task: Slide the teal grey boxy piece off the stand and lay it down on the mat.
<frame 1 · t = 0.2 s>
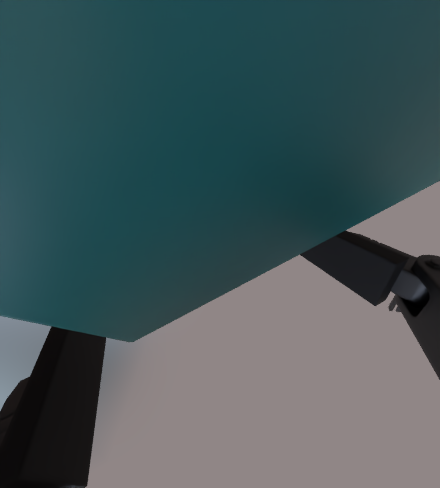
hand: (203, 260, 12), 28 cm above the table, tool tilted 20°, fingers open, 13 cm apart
teal grey boxy piece: (204, 39, 4), point 29 cm above the table, touching stand
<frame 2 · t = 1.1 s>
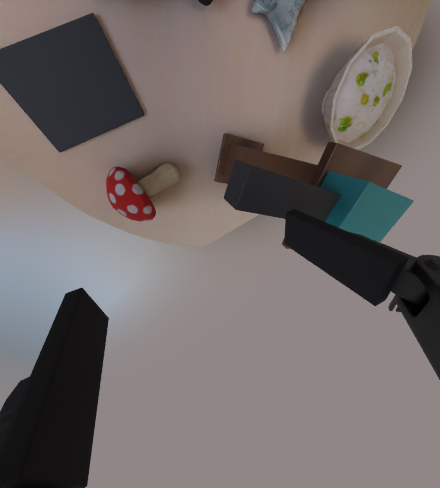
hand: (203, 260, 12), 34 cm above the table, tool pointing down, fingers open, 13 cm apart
stand: (237, 162, 43), on the table
bowl: (333, 102, 43), on the table
teal grey boxy piece: (335, 207, 20), point 29 cm above the table, touching stand
mat: (75, 91, 28), on the table
decorative mushroom: (148, 184, 39), on the table
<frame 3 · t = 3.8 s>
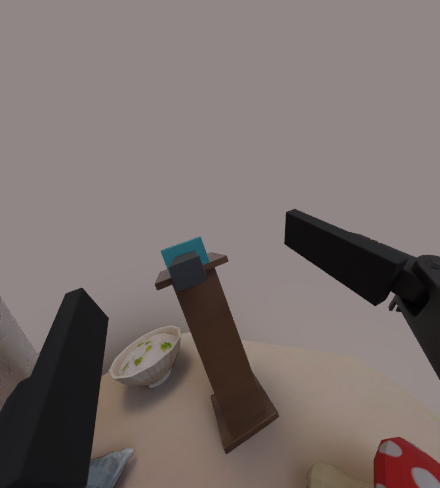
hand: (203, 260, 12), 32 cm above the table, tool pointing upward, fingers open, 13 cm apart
stand: (242, 407, 34), on the table
bowl: (159, 376, 50), on the table
teal grey boxy piece: (189, 265, 30), point 29 cm above the table, touching stand
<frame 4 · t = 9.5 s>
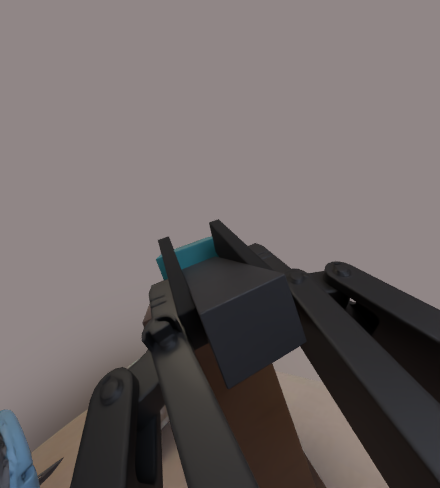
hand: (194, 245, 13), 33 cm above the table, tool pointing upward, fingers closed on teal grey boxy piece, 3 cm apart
teal grey boxy piece: (201, 281, 19), point 29 cm above the table, touching gripper, stand
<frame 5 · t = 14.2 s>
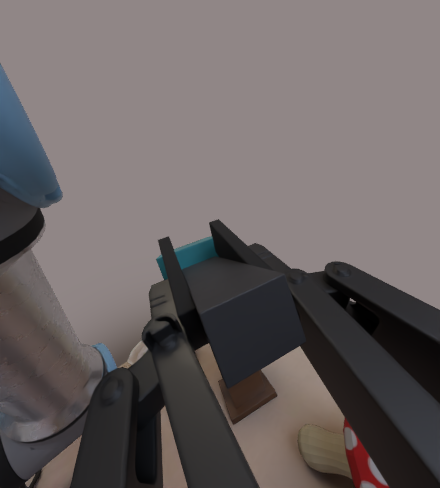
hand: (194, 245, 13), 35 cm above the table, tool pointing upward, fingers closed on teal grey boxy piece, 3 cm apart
stand: (245, 389, 39), on the table
bowl: (171, 366, 56), on the table
teal grey boxy piece: (201, 281, 19), point 31 cm above the table, touching gripper
decorative mushroom: (365, 480, 22), on the table
when the fingers open (22 cm above the table, at t = 19.1 s): teal grey boxy piece drops 17 cm, resting on mat.
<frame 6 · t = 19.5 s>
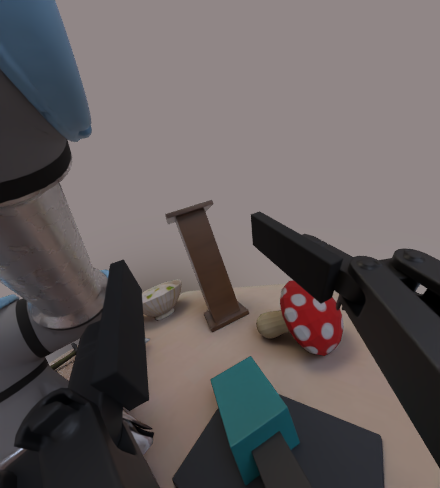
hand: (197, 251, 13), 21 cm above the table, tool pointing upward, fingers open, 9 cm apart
stand: (225, 314, 48), on the table
decorative duck model: (128, 444, 23), on the table, touching fruit
bowl: (165, 314, 64), on the table
knife: (83, 356, 54), on the table
teal grey boxy piece: (254, 421, 20), point 1 cm above the table, touching mat
mat: (271, 463, 17), on the table
decorative mushroom: (301, 338, 30), on the table
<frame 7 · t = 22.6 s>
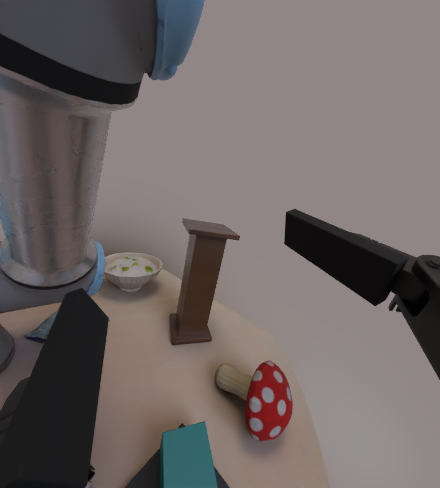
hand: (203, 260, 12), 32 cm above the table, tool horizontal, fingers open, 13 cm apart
stand: (189, 328, 49), on the table
bowl: (130, 287, 62), on the table
teal grey boxy piece: (184, 486, 23), point 1 cm above the table, touching mat
packaged food: (72, 334, 40), on the table
decorative mushroom: (246, 403, 34), on the table
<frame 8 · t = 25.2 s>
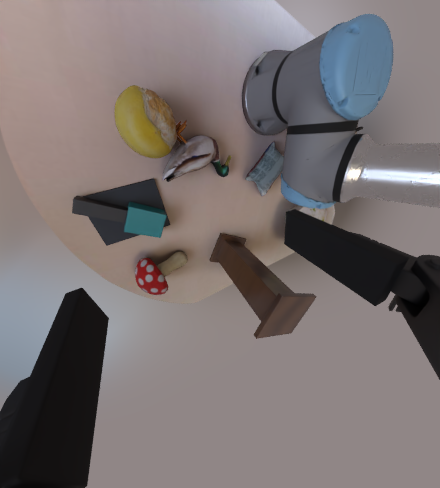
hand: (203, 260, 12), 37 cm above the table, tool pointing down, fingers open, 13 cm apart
stand: (227, 249, 60), on the table
decorative duck model: (191, 163, 43), on the table, touching fruit
bowl: (292, 216, 65), on the table
teal grey boxy piece: (144, 217, 44), point 1 cm above the table, touching mat
mat: (129, 212, 43), on the table
packaged food: (263, 169, 52), on the table
fruit: (146, 127, 36), on the table, touching decorative duck model
decorative mushroom: (161, 262, 53), on the table
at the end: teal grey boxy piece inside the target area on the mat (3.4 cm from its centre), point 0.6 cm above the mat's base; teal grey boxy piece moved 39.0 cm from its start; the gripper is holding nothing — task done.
